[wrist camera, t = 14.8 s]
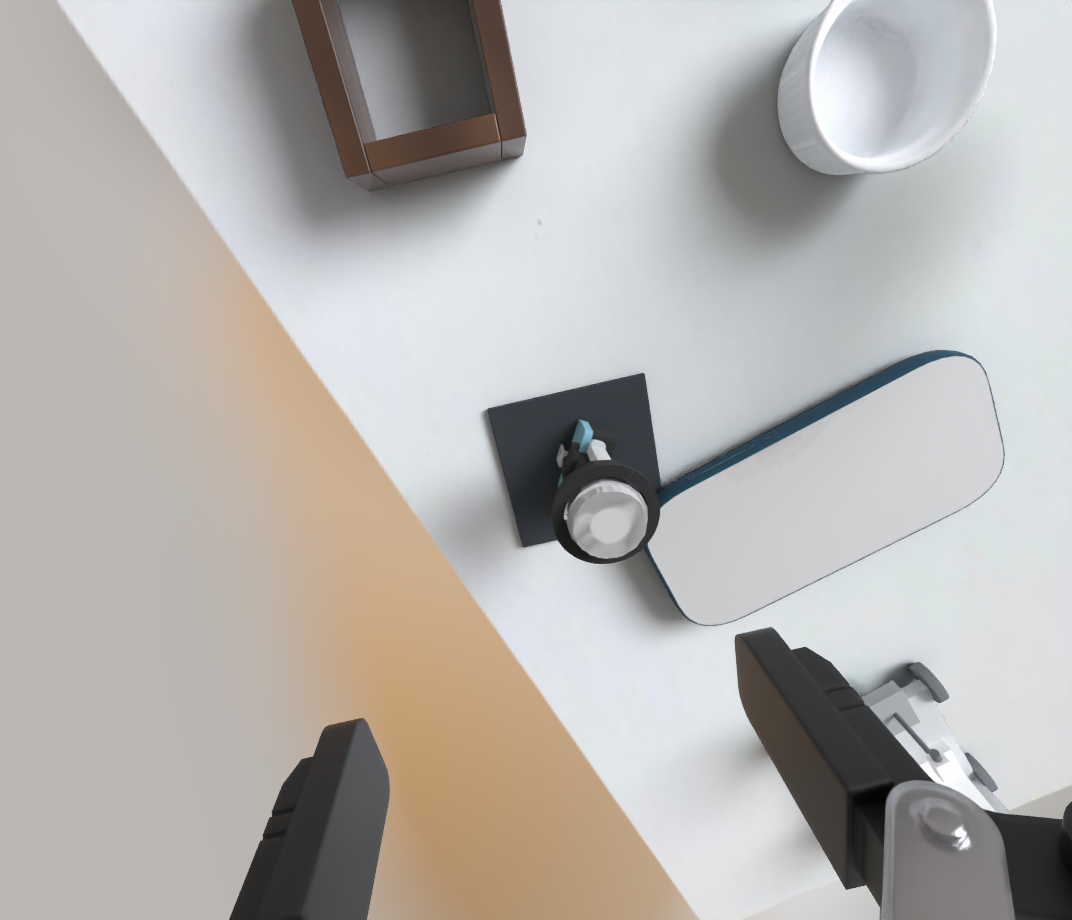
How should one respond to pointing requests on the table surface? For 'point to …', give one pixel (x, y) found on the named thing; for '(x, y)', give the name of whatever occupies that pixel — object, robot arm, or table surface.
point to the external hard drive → (828, 487)
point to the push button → (601, 500)
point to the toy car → (932, 736)
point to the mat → (568, 444)
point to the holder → (423, 148)
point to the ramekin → (884, 82)
